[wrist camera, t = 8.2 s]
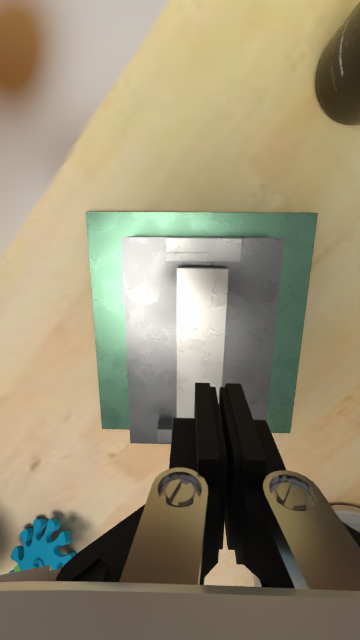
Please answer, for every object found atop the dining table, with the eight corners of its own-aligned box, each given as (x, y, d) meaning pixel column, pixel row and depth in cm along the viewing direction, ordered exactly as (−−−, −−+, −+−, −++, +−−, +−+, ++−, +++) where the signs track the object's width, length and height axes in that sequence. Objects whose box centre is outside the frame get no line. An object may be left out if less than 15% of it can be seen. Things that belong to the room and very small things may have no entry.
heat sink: (314, 213, 27) (361, 207, 20) (288, 429, 33) (315, 485, 26) (87, 212, 27) (51, 205, 20) (103, 425, 33) (80, 478, 26)
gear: (63, 509, 35) (70, 625, 30) (98, 502, 40) (109, 600, 35) (-2, 531, 38) (-6, 640, 33) (38, 522, 43) (40, 615, 38)
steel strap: (227, 266, 22) (228, 269, 21) (217, 431, 27) (218, 439, 26) (177, 266, 22) (176, 268, 21) (176, 430, 27) (176, 438, 26)
